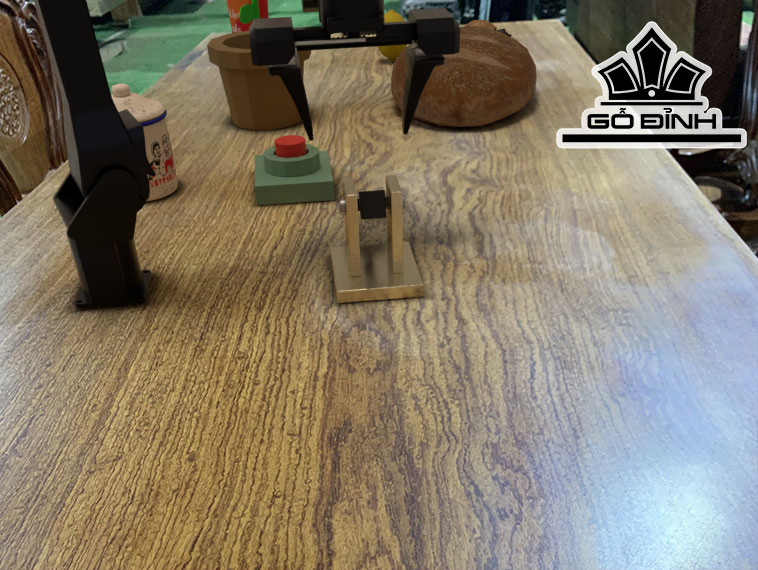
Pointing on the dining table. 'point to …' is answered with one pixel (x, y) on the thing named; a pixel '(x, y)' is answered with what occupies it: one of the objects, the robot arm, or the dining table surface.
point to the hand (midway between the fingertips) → (358, 136)
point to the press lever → (372, 204)
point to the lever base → (374, 253)
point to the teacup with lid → (151, 138)
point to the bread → (473, 81)
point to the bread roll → (485, 25)
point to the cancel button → (290, 146)
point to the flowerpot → (252, 80)
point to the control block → (293, 177)
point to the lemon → (393, 50)
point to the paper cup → (234, 4)
